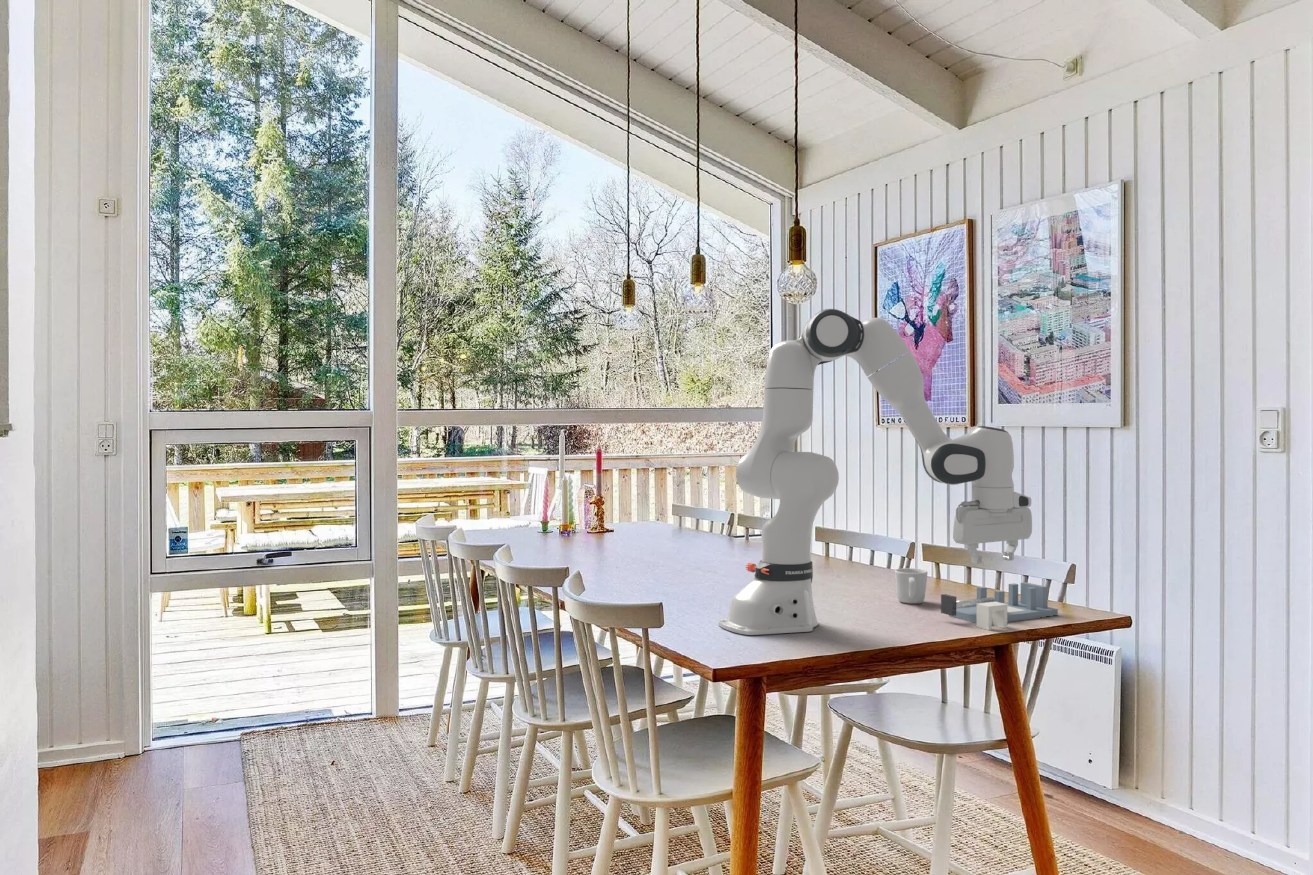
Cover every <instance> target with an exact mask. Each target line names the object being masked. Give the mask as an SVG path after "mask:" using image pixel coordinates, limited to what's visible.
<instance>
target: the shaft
mask: <svg viewBox="0 0 1313 875" xmlns="http://www.w3.org/2000/svg"><path fill="white" fill-rule="evenodd" d="M987 602H994V596H990V597H987V598H979V599H977V598H972V599H963V600H957V596H954V595H952V594H948V593H947V594H946V593H944V594H943V593H942V594H940V613H941V614H945V615H948V616H949V615H951V616H950V617H952V616H955V615H956V609H962V608H970V607H977V604H978V603H987Z"/></svg>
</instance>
